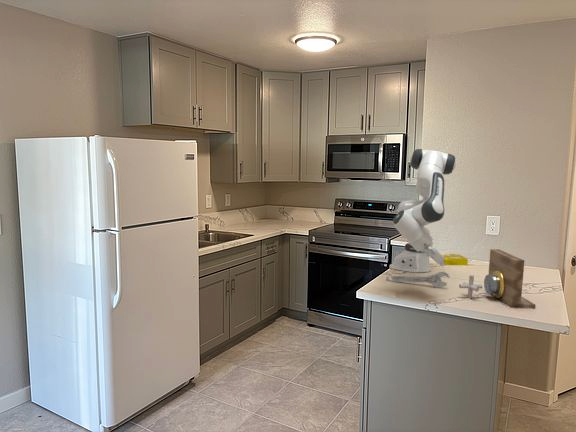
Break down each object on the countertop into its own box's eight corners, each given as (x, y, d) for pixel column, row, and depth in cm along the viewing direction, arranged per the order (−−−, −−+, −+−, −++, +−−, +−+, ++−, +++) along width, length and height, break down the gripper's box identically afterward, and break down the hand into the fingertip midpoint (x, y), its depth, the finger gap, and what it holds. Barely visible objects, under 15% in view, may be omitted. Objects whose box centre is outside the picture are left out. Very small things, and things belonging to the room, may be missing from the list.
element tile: (443, 265, 261) (444, 257, 260) (434, 260, 276) (435, 252, 275) (468, 266, 261) (469, 258, 261) (458, 260, 276) (458, 253, 276)
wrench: (387, 286, 222) (450, 287, 208) (386, 286, 220) (450, 288, 207) (386, 270, 221) (449, 271, 208) (385, 271, 220) (449, 271, 206)
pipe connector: (453, 294, 199) (455, 272, 198) (474, 294, 201) (475, 272, 200) (465, 300, 189) (467, 277, 188) (486, 300, 191) (488, 278, 190)
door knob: (492, 301, 188) (494, 274, 187) (481, 293, 200) (483, 267, 199) (504, 301, 188) (506, 274, 187) (492, 293, 200) (494, 267, 199)
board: (510, 307, 182) (514, 260, 180) (487, 291, 206) (490, 249, 204) (535, 308, 182) (539, 260, 180) (508, 291, 206) (512, 249, 203)
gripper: (434, 241, 182) (456, 265, 183) (421, 233, 203) (441, 254, 203) (422, 251, 183) (444, 275, 184) (411, 242, 203) (431, 263, 204)
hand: (443, 264), depth 194 cm, fingers closed
